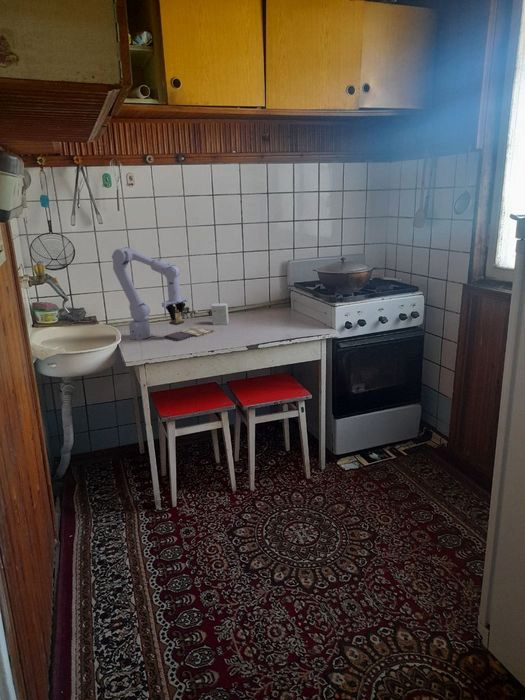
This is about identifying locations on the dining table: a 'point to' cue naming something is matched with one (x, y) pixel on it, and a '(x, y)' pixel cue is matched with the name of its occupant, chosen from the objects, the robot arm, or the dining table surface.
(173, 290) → the robot arm
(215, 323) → the small box
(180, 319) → the stamp
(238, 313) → the dining table surface
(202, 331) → the board
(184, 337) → the ink pad
